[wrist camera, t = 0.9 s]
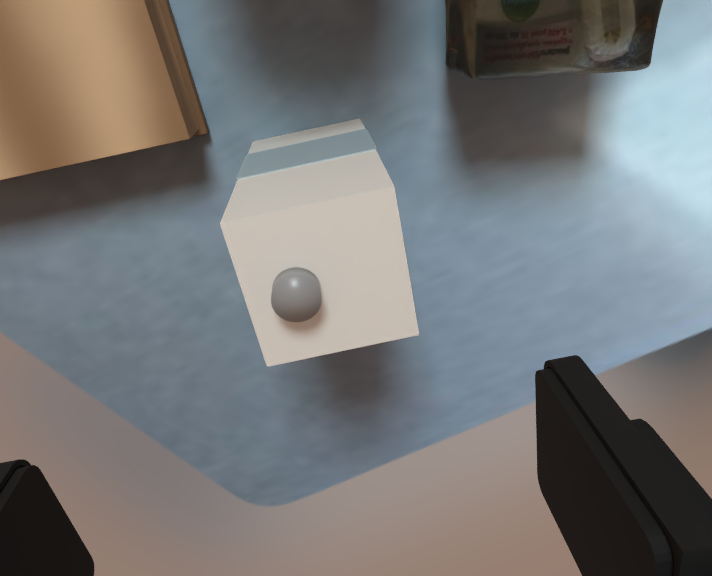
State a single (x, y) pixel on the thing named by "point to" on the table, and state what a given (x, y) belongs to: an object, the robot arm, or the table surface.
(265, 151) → the slim carton
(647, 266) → the table surface
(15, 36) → the plinth
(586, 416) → the robot arm
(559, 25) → the beverage carton
